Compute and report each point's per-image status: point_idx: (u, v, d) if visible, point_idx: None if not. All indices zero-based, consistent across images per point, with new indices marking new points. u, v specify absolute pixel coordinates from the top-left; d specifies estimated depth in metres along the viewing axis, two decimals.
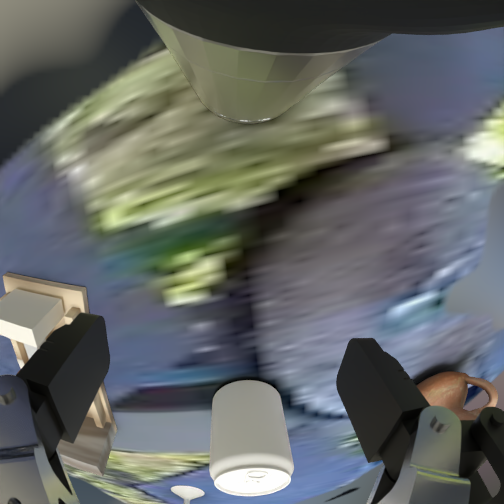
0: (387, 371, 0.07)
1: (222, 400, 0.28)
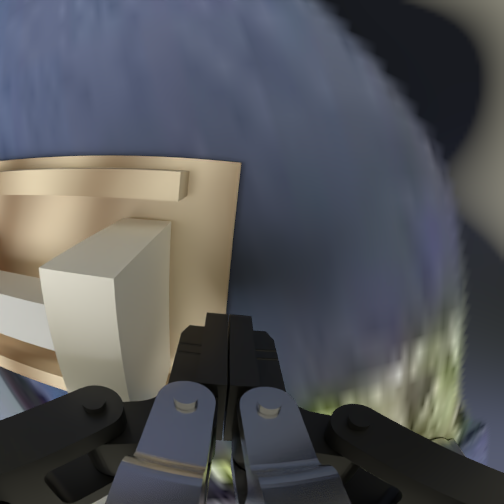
0: (241, 346, 0.07)
1: None
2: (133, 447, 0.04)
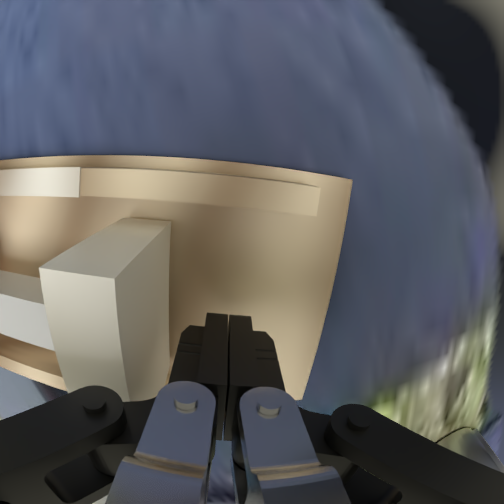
0: (241, 346, 0.07)
1: None
2: (133, 447, 0.04)
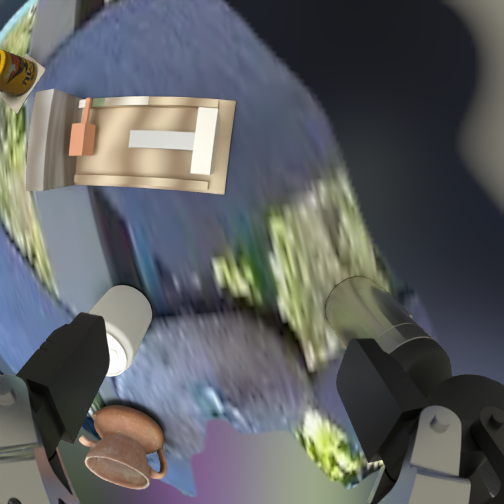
0: (387, 371, 0.07)
1: (138, 300, 0.37)
2: None
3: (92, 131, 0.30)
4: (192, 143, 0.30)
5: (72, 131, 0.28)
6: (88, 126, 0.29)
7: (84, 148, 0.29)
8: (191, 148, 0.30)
